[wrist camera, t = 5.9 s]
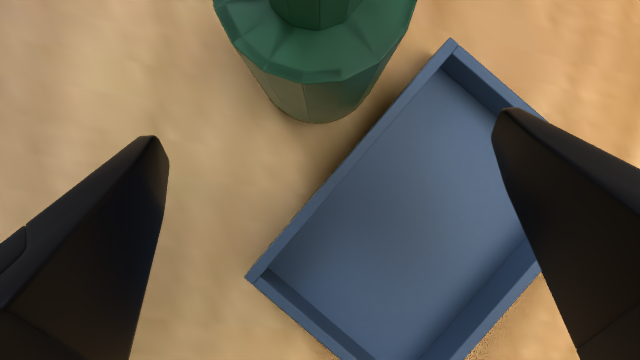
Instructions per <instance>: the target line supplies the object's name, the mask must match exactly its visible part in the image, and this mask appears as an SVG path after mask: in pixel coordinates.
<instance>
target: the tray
mask: <svg viewBox="0 0 640 360" xmlns="http://www.w3.org/2000/svg"><path fill="white" fill-rule="evenodd" d="M514 107H518V108H521V109H523V110H525V111H527V112H529V113H531V114H533V115H535V116H537V117H539V118H541V119H542V120H544V121H546V120H545V119H544V118H543V117H542V116H541V115H539V114H538V113H537V112H536V111H535V110H534V109H532V108H531V107H530V106H529V105H528V104H527V103H526V102H524V101H523V100H522V99H521V98H520V97H519V96H517V95H516V94H515V93H514V92H513V91H512V90H511V89H509V88H508V87H507V86H506V85H505V84H504V83H502V82H501V81H500V80H499V79H498V78H497V77H496V76H494V75H493V74H492V73H491V72H490V71H489V70H487V69H486V68H485V67H484V66H483V65H482V64H481V63H479V62H478V61H477V60H476V59H475V58H474V57H473V56H471V55H470V54H469V53H468V52H467V51H466V50H464V49H463V48H462V47H461V46H458V43H457V42H455V41H454V40H453V39H452V38H449V39H448V40H447V41H446V42H445V43H444V44H443V45H442V46H441V47H440V48H439V49H438V50H437V52H436V53H435V54H434V55H433V56H432V57H431V58H430V59H429V60H428V62H427V63H426V64H425V65H424V66H423V67H422V69H421V70H420V71H419V72H418V73H417V74H416V76H415V77H414V78H413V79H412V80H411V81H410V83H409V84H408V85H407V86H406V87H405V88H404V90H403V91H402V92H401V93H400V94H399V95H398V97H397V98H396V99H395V100H394V101H393V102H392V104H391V105H390V106H389V107H388V108H387V109H386V111H385V112H384V113H383V114H382V115H381V116H380V118H379V119H378V120H377V121H376V122H375V123H374V125H373V126H372V127H371V128H370V129H369V130H368V132H367V133H366V134H365V135H364V136H363V137H362V138H361V140H360V141H359V142H358V143H357V144H356V145H355V147H354V148H353V149H352V150H351V151H350V152H349V154H348V155H347V156H346V157H345V158H344V159H343V161H342V162H341V163H340V164H339V165H338V166H337V168H336V169H335V170H334V171H333V172H332V173H331V175H330V176H329V177H328V178H327V179H326V180H325V182H324V183H323V184H322V185H321V186H320V187H319V189H318V190H317V191H316V192H315V193H314V194H313V196H312V197H311V198H310V199H309V200H308V201H307V203H306V204H305V205H304V206H303V207H302V208H301V210H300V211H299V212H298V213H297V214H296V215H295V217H294V218H293V219H292V220H291V221H290V222H289V224H288V225H287V226H286V227H285V228H284V229H283V230H282V232H281V233H280V234H279V235H278V236H277V237H276V239H275V240H274V241H273V242H272V243H271V244H270V246H269V247H268V248H267V249H266V250H265V251H264V253H263V254H262V255H261V256H260V257H259V258H258V260H257V261H256V262H255V263H254V264H253V266H252V267H251V268H250V270H249V271H248V272H247V274H246V275H245V277H244V278H245V279H246V280H248V281H249V282H250V283H251V284H253V285H254V286H255V287H256V288H257V289H258V290H259V291H261V292H262V293H263V294H264V295H265V296H267V297H268V298H269V299H270V300H271V301H272V302H274V303H275V304H276V305H277V306H278V307H279V308H281V309H282V310H283V311H284V312H285V313H286V314H288V315H289V316H290V317H291V318H292V319H293V320H295V321H296V322H297V323H298V324H299V325H301V326H302V327H303V328H304V329H305V330H306V331H308V332H309V333H310V334H311V335H312V336H313V337H315V338H316V339H317V340H318V341H319V342H320V343H322V344H323V345H324V346H325V347H326V348H328V349H329V350H330V351H331V352H332V353H333V354H335V355H336V356H337V357H338V358H339V359H340V360H464V359H465V358H466V357H467V355H468V354H469V353H470V352H471V351H472V350H473V349H474V347H475V346H476V345H477V344H478V343H479V342H480V341H481V339H482V338H483V337H484V336H485V335H486V334H487V333H488V331H489V330H490V329H491V328H492V327H493V326H494V325H495V323H496V322H497V321H498V320H499V319H500V318H501V317H502V315H503V314H504V313H505V312H506V311H507V310H508V309H509V307H510V306H511V305H512V304H513V303H514V302H515V301H516V299H517V298H518V297H519V296H520V295H521V294H522V293H523V291H524V290H525V289H526V288H527V287H528V286H529V285H530V283H531V282H532V281H533V280H534V279H535V278H536V277H537V275H538V274H539V273H540V272H541V269H540V267H539V264H538V262H537V260H536V257H535V255H534V253H533V251H532V248H531V246H530V244H529V242H528V239H527V237H526V235H525V233H524V230H523V228H522V226H521V223H520V221H519V219H518V217H517V214H516V212H515V210H514V208H513V205H512V203H511V201H510V199H509V196H508V194H507V191H506V189H505V186H504V183H503V180H502V177H501V173H500V170H499V166H498V163H497V160H496V156H495V153H494V150H493V146H492V143H491V133H492V130H493V127H494V125H495V122H496V119H497V117H498V114H499V112H500V111H501V110H502V109H504V108H514ZM546 122H547V121H546ZM548 123H549V122H548Z"/></svg>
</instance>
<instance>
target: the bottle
mask: <svg viewBox="0 0 640 360" xmlns="http://www.w3.org/2000/svg"><path fill="white" fill-rule="evenodd" d="M416 2H417V0H213V6H214V10H215V12H216V14H217V16H218V18H219V20H220V22H221V24H222V26H223V27H224V29H225V31H226V33H227V35H228V37H229V39H230V41H231V43H232V45H233V46H234V48H235V49H236V51H237V52H238V53H239V55H240V56H241V58H242V59H243V61H244V62H245V64H246V65H247V67H248V68H249V69H250V71H251V72H252V74H253V75H254V77H255V78H256V80H257V81H258V82H259V84H260V85H261V87H262V88H263V90H264V91H265V93H266V94H267V96H268V97H269V98H270V100H271V101H272V102H273V103H274V104H275V105H276V106H277V107H278V108H279V109H280V110H282V111H283V112H284V113H286V114H287V115H289V116H291V117H293V118H295V119H297V120H300V121H304V122H308V123H327V122H332V121H335V120H338V119H341V118H343V117H345V116H346V115H348V114H350V113H351V112H352V111H354V110H355V109H356V108H357V107H358V106H359V105H360V104H361V103H362V102H363V100H364V99H365V98H366V97H367V95H368V94H369V93H370V91H371V90H372V88H373V86H374V85H375V83H376V81H377V80H378V78H379V76H380V75H381V73H382V71H383V70H384V68H385V66H386V65H387V63H388V61H389V60H390V58H391V56H392V55H393V53H394V51H395V50H396V48H397V46H398V45H399V43H400V41H401V40H402V38H403V36H404V35H405V33H406V31H407V30H408V27H409V23H410V20H411V17H412V14H413V11H414V8H415V5H416Z"/></svg>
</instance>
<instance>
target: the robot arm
mask: <svg viewBox="0 0 640 360" xmlns="http://www.w3.org/2000/svg"><path fill="white" fill-rule="evenodd" d="M491 143H492V146H493V150H494V153H495V156H496V160H497V163H498V166H499V170H500V173H501V177H502V180H503V183H504V186H505V189H506V191H507V194H508V196H509V199H510V201H511V203H512V205H513V208H514V210H515V212H516V214H517V217H518V219H519V221H520V223H521V226H522V228H523V230H524V233H525V235H526V237H527V239H528V242H529V244H530V246H531V248H532V251H533V253H534V255H535V257H536V260H537V262H538V264H539V267H540V269H541V271H542V273H543V276H544V278H545V280H546V282H547V285H548V287H549V289H550V291H551V294H552V296H553V298H554V301H555V303H556V305H557V307H558V310H559V312H560V314H561V316H562V319H563V321H564V323H565V325H566V328H567V330H568V332H569V334H570V337H571V339H572V341H573V344H574V346H575V348H576V349H577V350H576V351H577V353H578V355H579V358H580V360H640V169H639V168H637V167H635V166H633V165H631V164H629V163H627V162H625V161H623V160H621V159H619V158H617V157H615V156H613V155H611V154H609V153H607V152H605V151H603V150H601V149H599V148H597V147H595V146H593V145H591V144H590V143H588V142H586V141H584V140H582V139H580V138H578V137H576V136H574V135H572V134H570V133H568V132H566V131H564V130H562V129H560V128H558V127H556V126H554V125H552V124H550V123H548V122H546V121H544V120H542V119H541V118H539V117H537V116H535V115H533V114H531V113H529V112H527V111H525V110H523V109H521V108H518V107H514V108H504V109H502V110H501V111H500V112H499V114H498V117H497V119H496V122H495V125H494V127H493V130H492V133H491ZM168 175H169V159H168V157H167V155H166V153H165V151H164V149H163V146H162V144H161V142H160V140H159V139H158V138H157V137H156V136H154V135H150V136H140V137H138V138H137V139H135V140H134V141H133V142H131V143H130V144H129V145H128V146H126V147H125V148H124V149H122V150H121V151H120V152H118V153H117V154H116V155H115V156H113V157H112V158H111V159H109V160H108V161H107V162H106V163H104V164H103V165H102V166H100V167H99V168H98V169H96V170H95V171H94V172H93V173H91V174H90V175H89V176H87V177H86V178H85V179H84V180H82V181H81V182H80V183H78V184H77V185H76V186H74V187H73V188H72V189H71V190H69V191H68V192H67V193H65V194H64V195H63V196H62V197H60V198H59V199H58V200H56V201H55V202H54V203H52V204H51V205H50V206H49V207H47V208H46V209H45V210H43V211H42V212H41V213H40V214H38V215H37V216H36V217H34V218H33V219H32V220H30V221H29V222H28V223H27V224H26V226H23V227H21V228H20V229H19V230H17V231H16V232H15V233H14V234H12V235H11V236H10V237H8V238H7V239H6V240H4V241H3V242H2V243H0V360H129V356H130V352H131V348H132V344H133V340H134V336H135V332H136V328H137V323H138V319H139V315H140V311H141V307H142V303H143V299H144V295H145V291H146V287H147V283H148V278H149V274H150V270H151V266H152V262H153V258H154V254H155V250H156V246H157V242H158V238H159V233H160V229H161V225H162V221H163V216H164V210H165V202H166V193H167V184H168Z"/></svg>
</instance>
